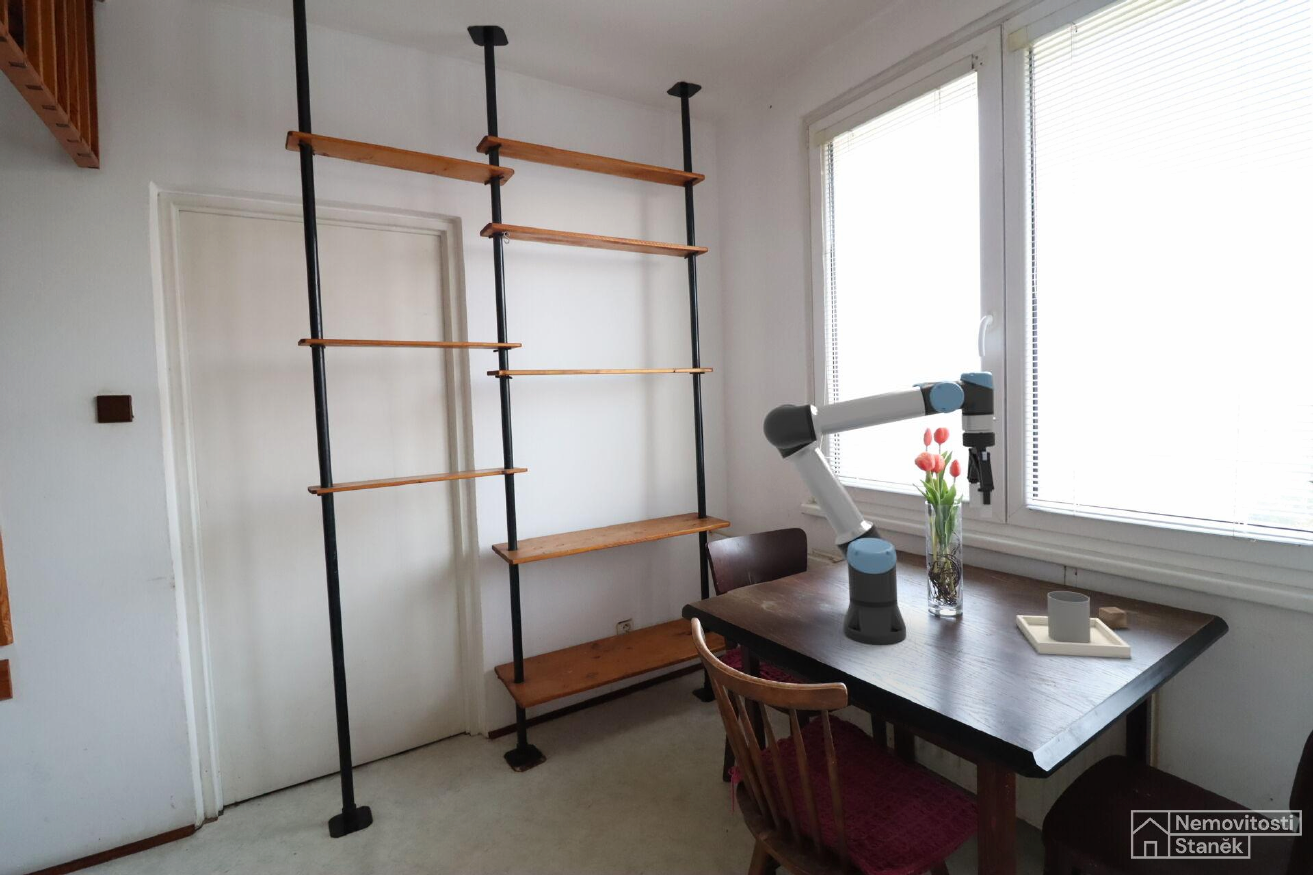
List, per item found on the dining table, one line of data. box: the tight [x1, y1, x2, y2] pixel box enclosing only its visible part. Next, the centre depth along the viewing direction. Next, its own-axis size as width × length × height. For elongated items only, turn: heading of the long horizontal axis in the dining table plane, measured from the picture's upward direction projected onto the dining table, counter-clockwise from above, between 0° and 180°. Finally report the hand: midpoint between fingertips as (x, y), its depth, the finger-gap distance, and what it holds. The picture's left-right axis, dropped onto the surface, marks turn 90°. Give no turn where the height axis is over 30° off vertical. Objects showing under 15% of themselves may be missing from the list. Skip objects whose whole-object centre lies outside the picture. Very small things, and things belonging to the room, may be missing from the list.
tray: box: [1016, 614, 1132, 659], centre depth 147 cm, size 18×18×2 cm
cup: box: [1047, 590, 1091, 643], centre depth 147 cm, size 8×8×10 cm
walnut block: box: [1098, 606, 1128, 630], centre depth 154 cm, size 4×4×4 cm
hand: (980, 512), depth 162 cm, fingers open, 13 cm apart
